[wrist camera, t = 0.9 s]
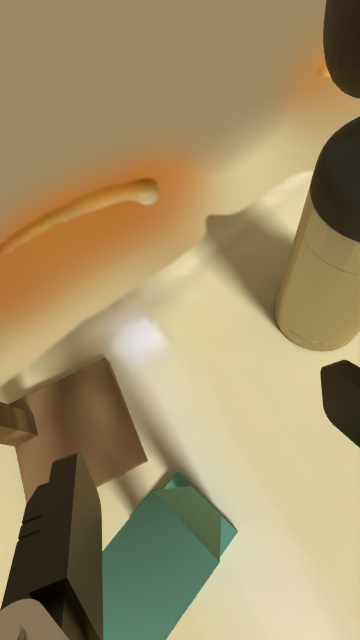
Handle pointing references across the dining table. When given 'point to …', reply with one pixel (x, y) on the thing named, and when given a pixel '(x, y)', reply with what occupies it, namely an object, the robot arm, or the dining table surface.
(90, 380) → the hook stand
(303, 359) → the dining table surface
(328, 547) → the dining table surface
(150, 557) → the teal loop
